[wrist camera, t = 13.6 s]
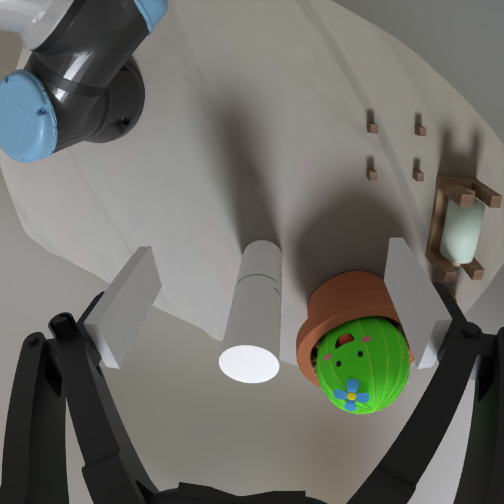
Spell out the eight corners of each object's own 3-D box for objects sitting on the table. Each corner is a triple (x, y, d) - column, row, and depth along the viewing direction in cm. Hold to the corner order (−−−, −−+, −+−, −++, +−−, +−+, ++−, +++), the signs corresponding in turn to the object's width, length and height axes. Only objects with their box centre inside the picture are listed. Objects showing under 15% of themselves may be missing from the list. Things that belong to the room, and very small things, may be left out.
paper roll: (443, 183, 45) (463, 197, 39) (473, 184, 44) (494, 198, 38) (431, 254, 52) (446, 274, 46) (460, 252, 51) (476, 271, 45)
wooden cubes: (367, 122, 43) (370, 124, 42) (421, 126, 42) (426, 127, 40) (366, 176, 48) (369, 180, 46) (418, 177, 46) (423, 181, 45)
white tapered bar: (256, 279, 59) (240, 388, 38) (235, 250, 57) (206, 355, 35) (289, 264, 57) (289, 373, 36) (269, 233, 54) (259, 337, 33)
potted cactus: (414, 313, 61) (450, 407, 39) (328, 356, 69) (337, 451, 47) (374, 238, 53) (421, 337, 31) (275, 295, 61) (268, 403, 39)
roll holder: (437, 175, 46) (461, 193, 38) (476, 178, 45) (502, 195, 37) (425, 256, 54) (443, 283, 46) (461, 254, 52) (481, 279, 45)
